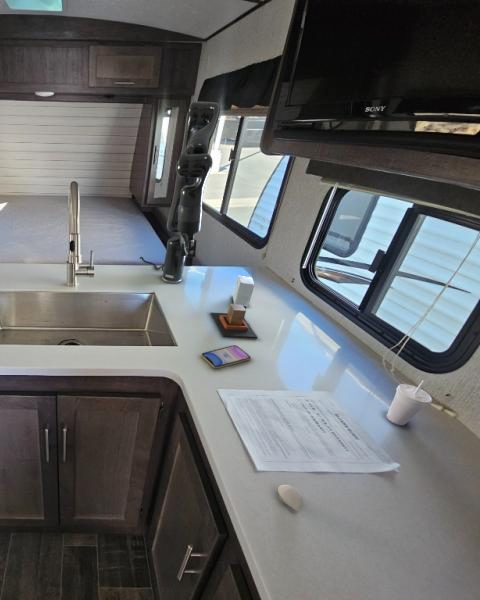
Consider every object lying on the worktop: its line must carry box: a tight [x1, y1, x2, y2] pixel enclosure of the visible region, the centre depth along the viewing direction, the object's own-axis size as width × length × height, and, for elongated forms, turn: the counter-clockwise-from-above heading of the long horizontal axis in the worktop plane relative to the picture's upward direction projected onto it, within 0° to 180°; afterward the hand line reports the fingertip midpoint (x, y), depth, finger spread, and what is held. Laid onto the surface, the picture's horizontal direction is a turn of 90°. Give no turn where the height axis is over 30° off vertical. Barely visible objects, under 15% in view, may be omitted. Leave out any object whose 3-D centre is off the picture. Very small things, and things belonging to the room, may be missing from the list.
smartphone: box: [200, 344, 252, 369], centre depth 105 cm, size 8×15×1 cm, turn 110°
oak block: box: [225, 303, 247, 326], centre depth 120 cm, size 4×4×8 cm
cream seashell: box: [276, 484, 303, 512], centre depth 65 cm, size 4×5×2 cm
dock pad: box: [210, 312, 258, 340], centre depth 122 cm, size 16×12×2 cm
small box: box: [232, 275, 255, 307], centre depth 137 cm, size 8×6×10 cm
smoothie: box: [386, 379, 433, 426], centre depth 81 cm, size 6×6×14 cm
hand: (186, 260), depth 118 cm, fingers open, 8 cm apart
